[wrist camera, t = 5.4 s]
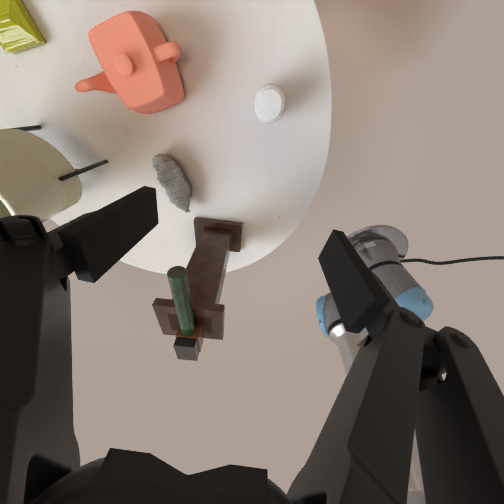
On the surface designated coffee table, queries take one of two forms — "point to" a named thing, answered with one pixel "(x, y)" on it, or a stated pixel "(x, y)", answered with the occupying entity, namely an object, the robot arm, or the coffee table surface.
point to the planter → (36, 176)
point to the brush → (184, 316)
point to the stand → (204, 278)
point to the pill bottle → (269, 103)
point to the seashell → (173, 181)
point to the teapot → (135, 63)
